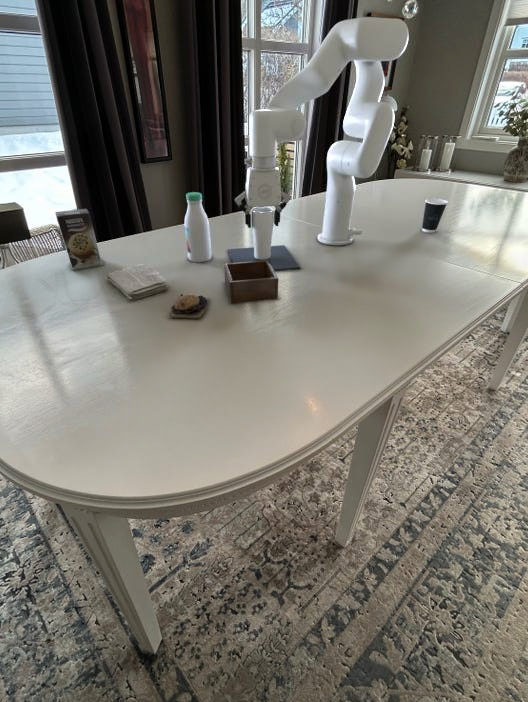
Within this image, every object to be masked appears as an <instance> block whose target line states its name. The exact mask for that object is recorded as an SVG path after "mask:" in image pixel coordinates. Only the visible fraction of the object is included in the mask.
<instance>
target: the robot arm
mask: <svg viewBox="0 0 528 702" xmlns="http://www.w3.org/2000/svg"><path fill="white" fill-rule="evenodd" d="M408 42H409V28H408V25H407V23H406V22H405V21H404V20H402V19H400V18H391V17H390V18H388V17H375V16H374V17H373V16H362V17H357V18H350V19H344V20H341V21H339V22H337V23H336V24H334V26H333V27H332V28H331V29H330V30H329V32H328V33H327V35H326V37H325V38H324V39H323V41H322V42H321V44H320V45H319V47H317V49H316V51H315V52H314V54H313V55H312V57H311V58H310V59H309V61H308V63H306V65H305V67H303V68H302V69H301V70H300V71H298V72H297V73H296V74H295V75H294V76H292V77H291V78H290V79H289V80H288V81H287V82H285V83H284V84H283V85H282V86H281V87H280V88H279V89H278V90H277V91H276V93H275V94H274V95H273V96H272V98H271V99H270V101H269V102H268V103H267V106H266V107H265V109H254V110H252V111H251V112H250V113H249V117H248V126H249V127H248V131H249V133H248V134H249V135H248V136H249V137H248V139H249V155H248V157H247V158H244V165H248V166H249V167H247V170H246V177H245V190H244V191H242V193H240V194H239V195H238V196H236V197H235V198H234V202H235V203H236V205H237V207H239V209H240V210H241V211H242V212H243V213H244V224H245V225H246V226H247V228H248V229H250V228H252V213H251V212H252V209H253V208H257V207H274V222H273V225H275V227H279V223H281V213H282V212H283V210H284V209H285V208H286V207H287V204H288V203H289V201H290V200H291V196H290V195H289V194H287V193H286V192H284V191H283V190H281V189H282V186H281V173H280V168H279V167H278V166H277V152H278V151H277V150H278V141H287V142H293V141H297V140H299V139H300V138H301V137H303V135H305V134H304V133H305V132H306V128H307V118H306V116H305V114H304V113H303V111H301V110H299V109H298V108H299V107H301V106H302V105H304V104H305V103H308V102H310V101H313V100H315V99H318V98H320V97H321V96H323V95H324V94H327V93H328V92H329V90H330V89H331V87H332V86H333V85H334V83H335V82H336V80H337V79H338V78H339V76H340V74H341V73H342V72H343V70H344V69H345V67H346V66H347V65H348V64H349V63H350V62H351V61H352V62H353V61H354V65H355V70H356V79H355V84H354V88H353V90H352V91H353V92H352V95H351V98H350V101H349V104H348V107H347V109H346V112H345V115H344V119H343V124H342V129H343V132H344V133H345V135H347V136H349V137H351V138H357V139H363V140H362V141H361V142H359V141H355V140H347V139H346V140H345V139H344V140H338V141H336V142H334V143H333V144H332V145H330V147H329V149H328V151H327V154H326V155H327V156H326V173H327V184H326V193H325V204H324V211H323V221H322V232H320V233H318V235H317V241H318V242H319V243H321V244H323V245H328V246H336V247H337V246H347V245H350V244H351V243H353V236H355V235H356V236H358V235H359V236H360V235H362V233H363V230H362V228H356V227H351V223H352V222H351V221H352V214H353V207H354V200H355V195H356V181H355V178H358V179H367V178H370V177H371V176H373V174H374V173H376V170H377V169H378V167H379V165H380V163H381V160H382V157H383V155H384V152H385V150H386V147H387V145H388V141H389V139H390V137H391V134H392V131H393V128H394V123H395V112H394V108H393V107H392V105H390V104H389V103H388V102H384V101H381V97H382V95H383V92H384V88H385V74H384V70H383V66H382V63H381V62H391V61H395V60H396V59H398V58H400V57H401V56H402V55H403V53H405V51H406V48H407V46H408ZM282 198H283V200H282ZM244 199H245V202H246V205H244V204H243V203H242V201H243V200H244Z"/></svg>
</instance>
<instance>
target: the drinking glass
mask: <svg viewBox="0 0 528 702" xmlns="http://www.w3.org/2000/svg"><path fill="white" fill-rule="evenodd" d="M274 211H275V209H273V208H272V207H270V206H267V207H252V209H251V231H252V242H253V247H254V257H255V258H256V259H258V260H266V259H269V258H270V256H271V246H272V241H273V232H274Z"/></svg>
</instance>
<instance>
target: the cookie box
mask: <svg viewBox="0 0 528 702" xmlns="http://www.w3.org/2000/svg"><path fill="white" fill-rule="evenodd" d="M54 214H55V217H56V220H57V225H58V228H59V230H60V234H61V237H62V240H63V244H64V247H65V250H66V255H67V257H68V259H69V263H70V267H71V270H72V271H76V270H83V269H89V268H93V267H98V266H103V262H102V258H101V255H100V250H99V246H98V243H97V239H96V234H95V230H94V226H93V222H92V219H91V214H90V212H89V210H88V209H87V208H79V209H70V210H62V211H61V210H60V211H55V212H54Z"/></svg>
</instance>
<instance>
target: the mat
mask: <svg viewBox="0 0 528 702" xmlns="http://www.w3.org/2000/svg"><path fill="white" fill-rule="evenodd" d="M227 252H228V255H229V257H230V260H231V263H238V262H251V261H264V260H258V259H256V258H255V257H254V246H253V247H240V248H239V247H238V248H227ZM266 260H268V261H269V263H270V265H271V267H272V268H273V270H274V272H280V271H293V270H300V269H301V265H299V263H298V262H297V261H296V259H295V258H294V257H293V255H292V253H290V251H289V250H288V249H287V247H286V246H285V245H284V244H281V245H271V256H270V258H269V259H266Z"/></svg>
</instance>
